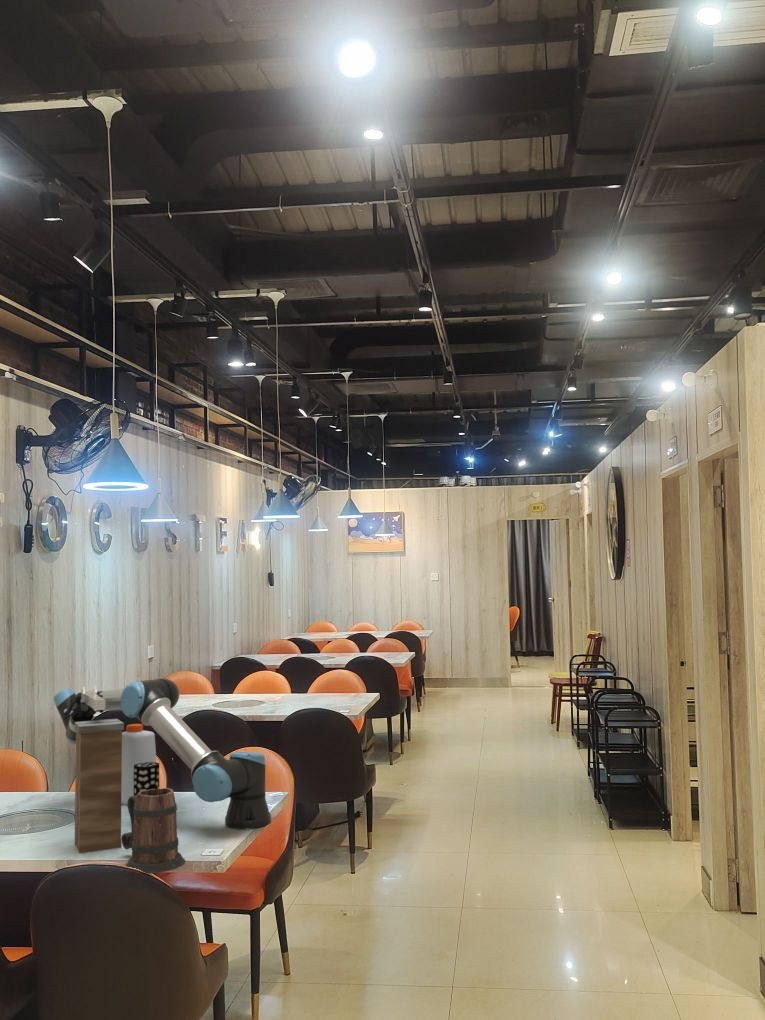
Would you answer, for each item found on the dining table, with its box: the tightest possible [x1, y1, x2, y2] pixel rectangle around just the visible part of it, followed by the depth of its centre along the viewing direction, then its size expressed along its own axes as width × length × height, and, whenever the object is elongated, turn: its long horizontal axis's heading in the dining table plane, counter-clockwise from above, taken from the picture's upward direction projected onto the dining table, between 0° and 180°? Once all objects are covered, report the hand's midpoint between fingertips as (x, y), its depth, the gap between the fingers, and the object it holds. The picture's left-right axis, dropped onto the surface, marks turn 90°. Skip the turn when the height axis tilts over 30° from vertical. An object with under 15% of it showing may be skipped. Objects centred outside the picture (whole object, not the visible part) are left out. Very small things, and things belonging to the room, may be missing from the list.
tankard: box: [121, 787, 186, 875], centre depth 244 cm, size 24×17×20 cm
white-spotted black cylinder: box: [134, 761, 160, 796], centre depth 284 cm, size 8×8×20 cm
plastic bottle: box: [121, 723, 157, 806], centre depth 323 cm, size 15×15×28 cm
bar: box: [83, 690, 105, 710], centre depth 278 cm, size 32×3×3 cm, turn 26°
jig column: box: [74, 718, 125, 854], centre depth 264 cm, size 13×13×37 cm
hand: (89, 689), depth 285 cm, fingers closed on bar, 3 cm apart
